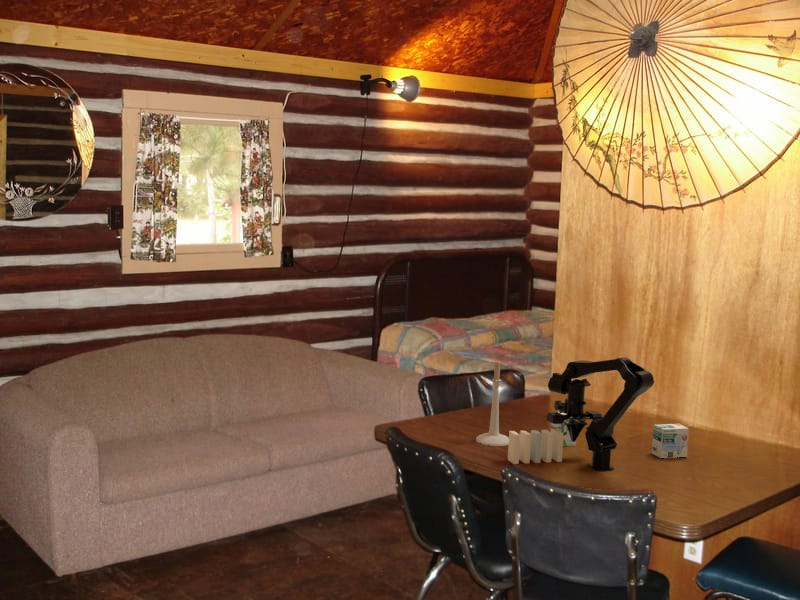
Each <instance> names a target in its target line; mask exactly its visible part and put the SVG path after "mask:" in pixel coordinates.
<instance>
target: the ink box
mask: <svg viewBox="0 0 800 600" xmlns="http://www.w3.org/2000/svg"><path fill="white" fill-rule="evenodd" d="M557 412H558V413H559V411H557ZM560 414H562V415H566V413H565V414H564V413H560ZM552 429H558V430H559V431H561V432H563V433H564V434H563V447H571V446H573V447H574V446H576V445H577V440H576V441H575V442H572V441H571V438H570V434H569V431H568V428H567V426H566V424H564V423H562V424H553V423H551V422H550V432H551V433H552Z"/></svg>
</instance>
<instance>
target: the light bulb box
mask: <svg viewBox="0 0 800 600" xmlns="http://www.w3.org/2000/svg"><path fill="white" fill-rule="evenodd" d="M652 433H653V434H652V445H651V447H652V448H651V454H652V455H653V456H656V457H658V458H659V459H661V458H664V459H680V458H679V457H687V458H688V456H687V455H688V446H689V433H690V428H689V427H687V426H685V425H682V424H681V423H663V424H658V423H657V424H653V432H652ZM677 457H678V458H677Z"/></svg>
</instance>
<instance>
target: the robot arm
mask: <svg viewBox="0 0 800 600" xmlns="http://www.w3.org/2000/svg"><path fill="white" fill-rule="evenodd" d="M610 371H611V372H612V371H618V372H619V375H620V376H621V378H622V380H624V381H625V382H624V385H623V391H621V393H620V395H619V396H618V397H617V398H616V400H615V401H614V402H613V404H611V406H610V408H609V409H608V410H607V411H606V413H605V414H604V415H602V413H600V412H598V411H596V410H586V411H584V410H585V408H584V407H585V406H586V405H587V401H585V393H586V387H590V386H591V383H590V382H589V381H588V379H587V378H584V377H588V376H591V375H594V374H595V373H601V372H602V373H603V372H610ZM580 378H582V379H580ZM572 379H573V380H572ZM654 384H655V380H654V376H653V373H651V372H650V371H649V370H647V369H646V368H644V367H643V366H641V365H639V364H637V363H635V362H634V361H632V360H631V359H630V358H629V357H627V356H624V357H617V358H613V359H606V360H598V361H591V360H582V359H580V360H575V361H574V360H573V361H569V362H568V363H567V365H566V368H565V369H564V371H563V372H562V373H559V372H553V373H552V376H551V377H550V378H549V380H548V382H547V389H548V391H550V392H552V393H556V394H560V395H567V396H566V397H567V398H565V399H564V402H562V400H555V401H554V405H553V407H554V410H555V411H551V412H548V413H547V414H546V421H547V422H549V423H550V424H551V423H553V424H562V423H564V424H566V426H567V428H568V431H569V434H570V438H571V441H572V442H575V441H576V442H577V439H578V438H579V436H580V433H581V432H582V430H583V429H584V428H585V426H587V425H588V422H586V420H591V422H590V423H589V425H588V426H587V427H586V428H585V429H586V431H585V433H584V435H585V439H586V443H587V448H588V450H589V451H591V452H592V457H591V463H587V465H588V466H589V467H590V468H592V469H594V470H596V471H611V470H612V471H613V470H614V469H615V468H614V467H613V466H612V465H611V454H612V451H611V450H616V448H617V445H618V443H617V442H616V440H615V438H614V437H613V434H614V428H615V426H616V424H617V423H618V422H619V421H620V420H621V418H622V417H623V416H624V415H625V413H626V411H627V410H628V409H629V408H630V407H631V405H632V404H633V403H634V402H635V400H636V399H637V398H638V397H639V396H641V395H643V394H644V393H646V392H647V391H648V390H650V388H652V387H653V385H654ZM558 412H559V413H558ZM560 413H564V414H565V413H566V415H562V414H560Z"/></svg>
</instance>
